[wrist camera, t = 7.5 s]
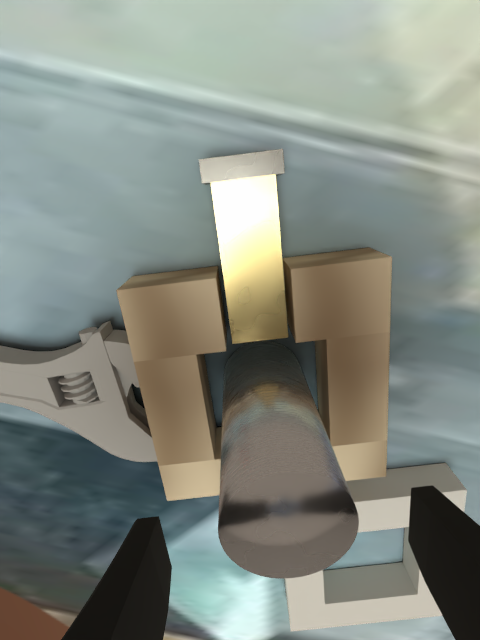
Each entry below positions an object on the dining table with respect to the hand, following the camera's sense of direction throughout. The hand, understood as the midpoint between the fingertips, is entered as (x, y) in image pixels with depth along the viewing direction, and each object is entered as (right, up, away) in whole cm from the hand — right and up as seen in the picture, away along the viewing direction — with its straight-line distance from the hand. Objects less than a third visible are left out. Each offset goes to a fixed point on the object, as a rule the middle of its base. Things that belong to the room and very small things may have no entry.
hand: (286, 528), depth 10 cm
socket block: (0, +3, +8) cm, 9 cm away
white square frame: (+6, -8, +12) cm, 16 cm away
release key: (-1, +9, +6) cm, 11 cm away
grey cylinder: (0, +3, +8) cm, 9 cm away
